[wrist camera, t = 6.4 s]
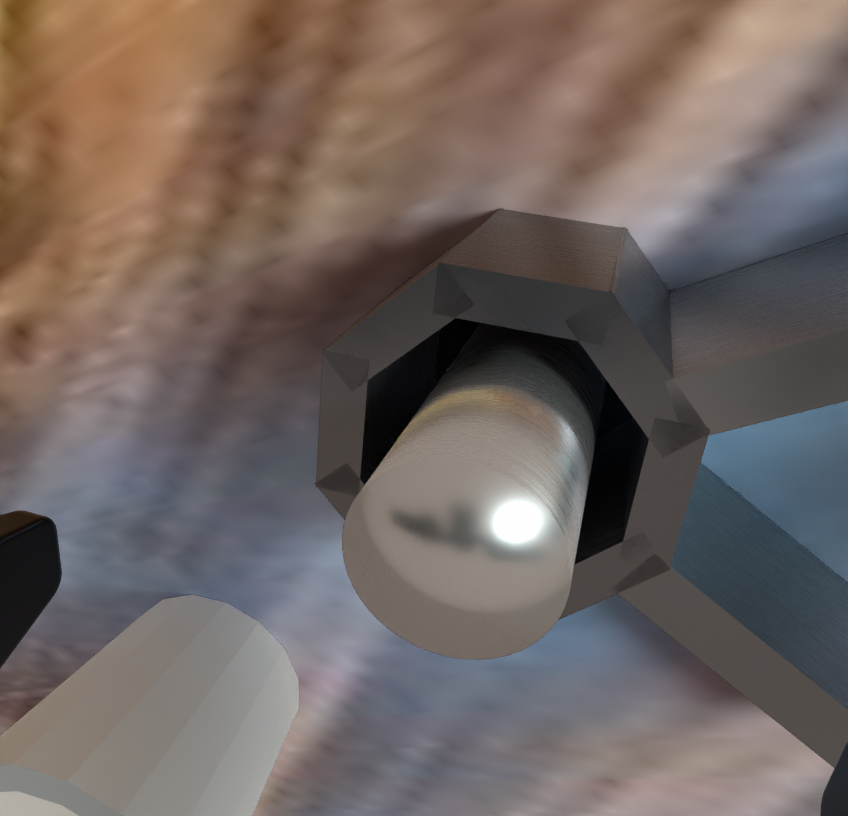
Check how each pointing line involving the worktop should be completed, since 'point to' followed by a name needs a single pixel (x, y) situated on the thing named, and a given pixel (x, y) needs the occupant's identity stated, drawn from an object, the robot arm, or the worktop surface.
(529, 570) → the hinge pin
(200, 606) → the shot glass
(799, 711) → the grey ring with handle
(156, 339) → the worktop surface
